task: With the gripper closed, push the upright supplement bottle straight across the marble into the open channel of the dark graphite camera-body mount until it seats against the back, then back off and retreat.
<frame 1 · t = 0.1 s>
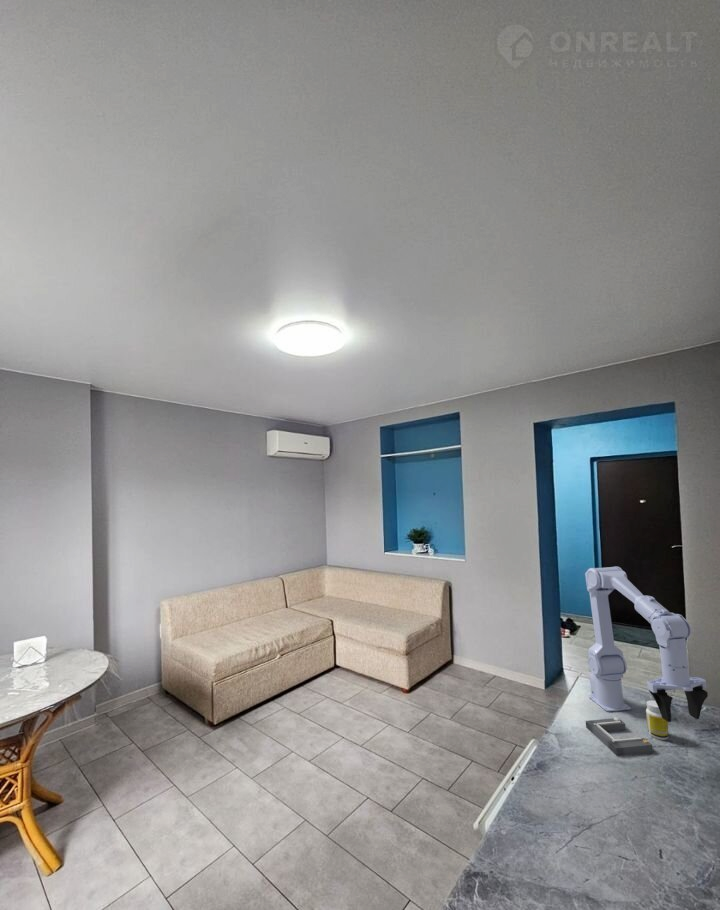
hand: (680, 718, 105), 10 cm above the countertop, fingers open, 7 cm apart
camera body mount: (621, 738, 114), on the countertop
supplement bottle: (658, 736, 115), on the countertop
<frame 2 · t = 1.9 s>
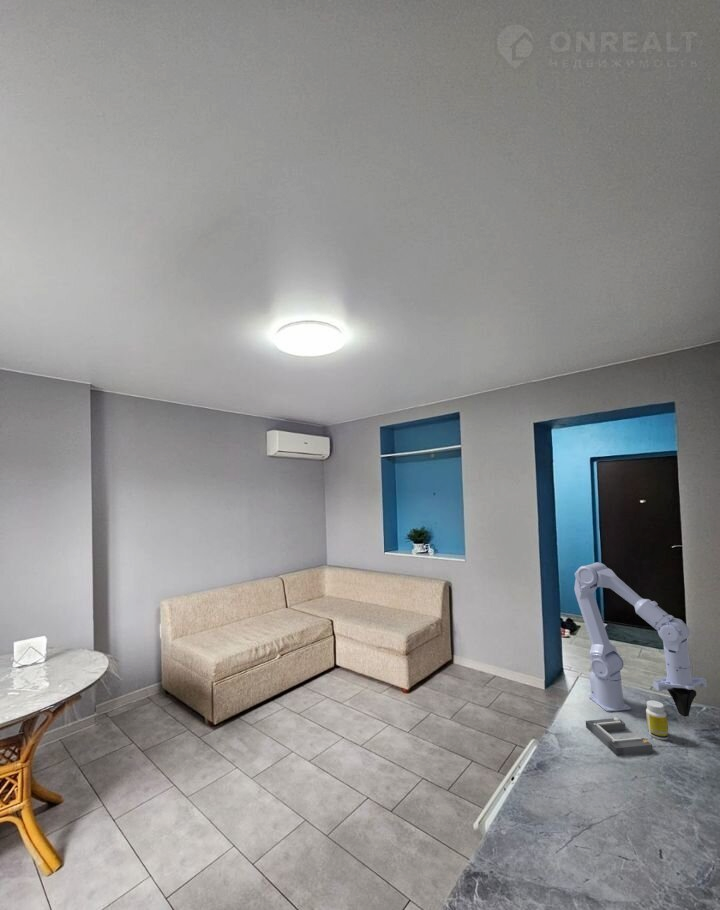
hand: (683, 714, 116), 5 cm above the countertop, fingers closed
nothing on the countertop moved.
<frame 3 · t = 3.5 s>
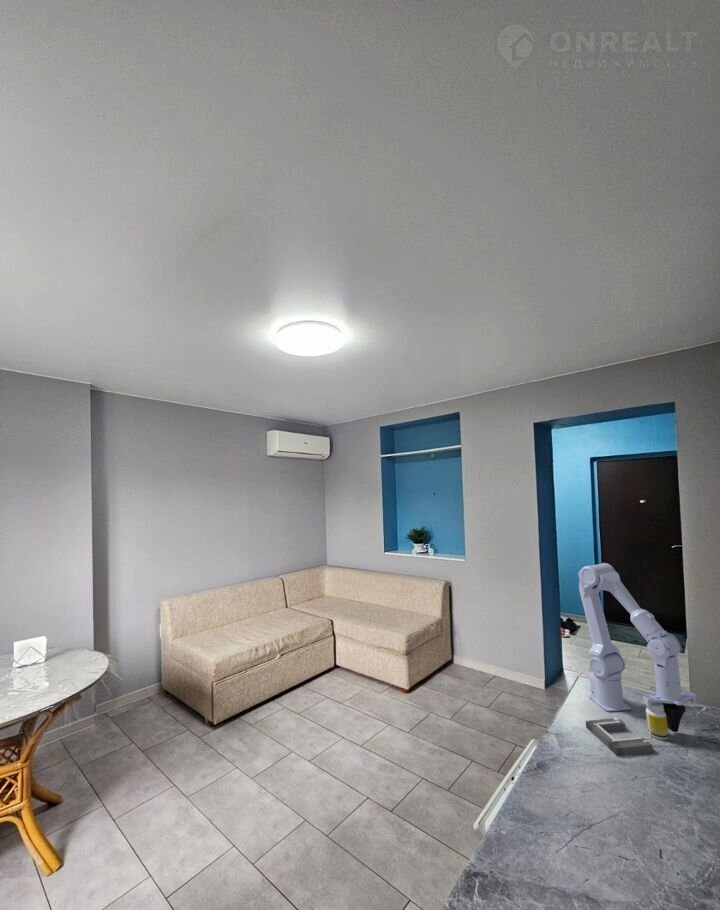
hand: (673, 729, 116), 1 cm above the countertop, fingers closed
supplement bottle: (658, 735, 115), on the countertop, touching gripper
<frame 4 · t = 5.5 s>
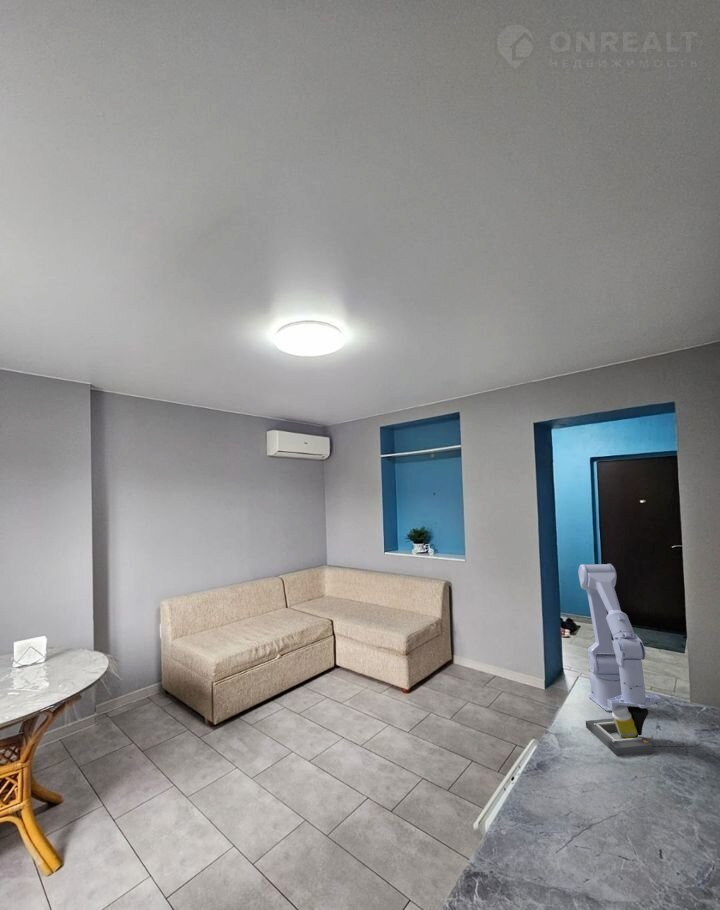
hand: (637, 733, 115), 1 cm above the countertop, fingers closed, pressing on supplement bottle
supplement bottle: (629, 736, 115), on the countertop, touching gripper
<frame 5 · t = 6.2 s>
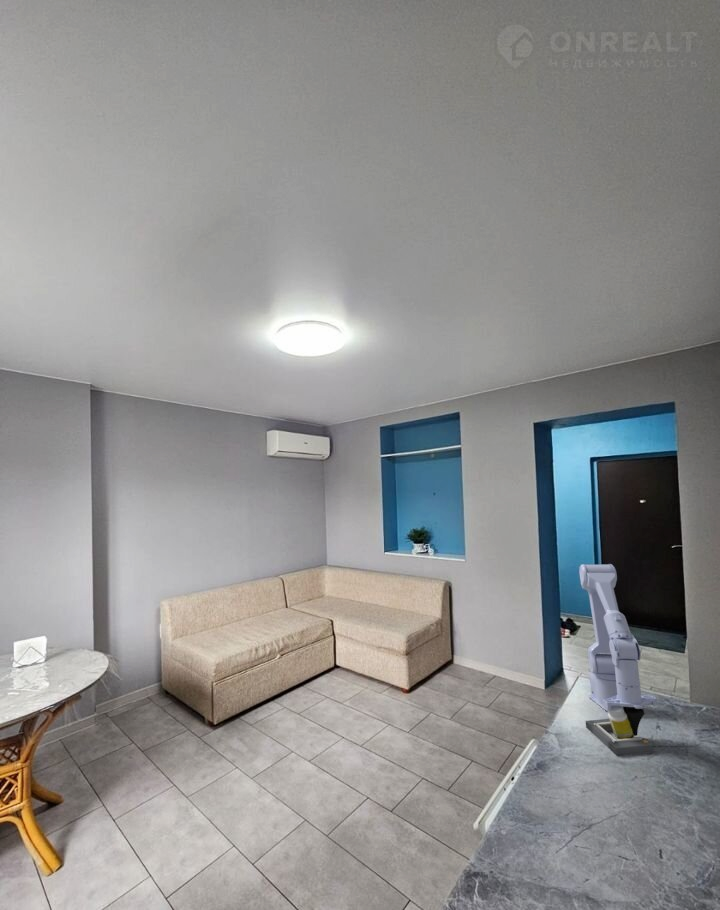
hand: (633, 733, 115), 1 cm above the countertop, fingers closed, pressing on supplement bottle
supplement bottle: (624, 736, 114), on the countertop, touching gripper
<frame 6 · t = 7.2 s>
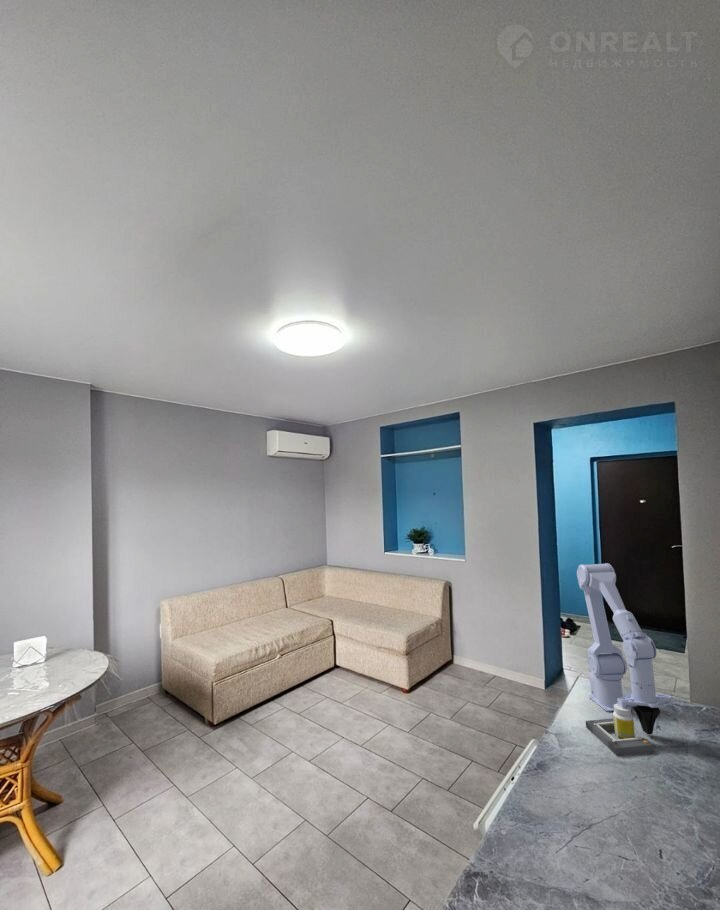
hand: (647, 732, 115), 1 cm above the countertop, fingers closed
supplement bottle: (625, 739, 114), on the countertop
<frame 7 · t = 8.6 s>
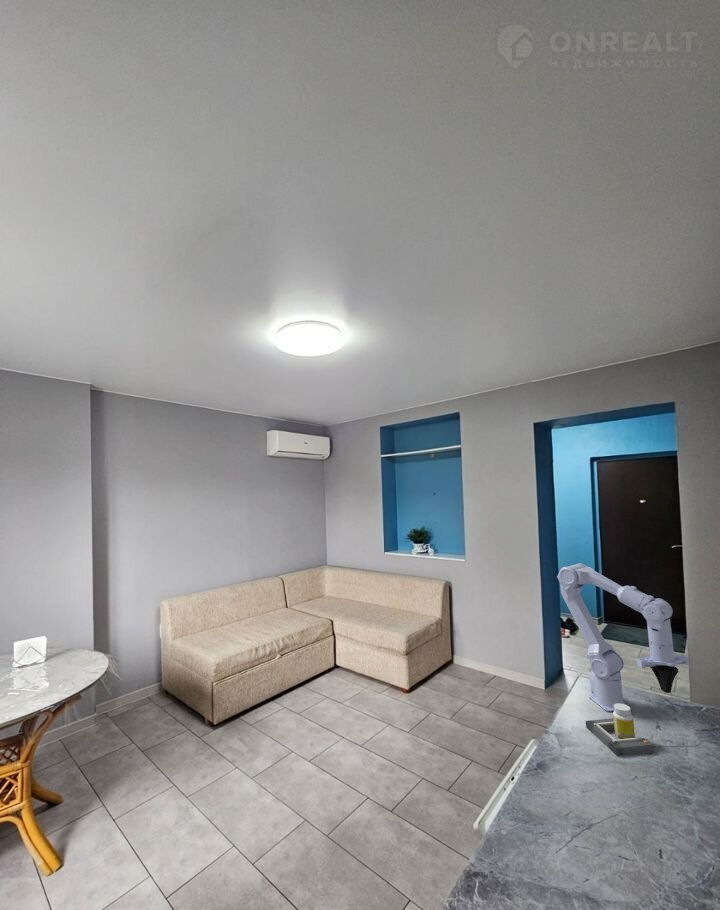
hand: (666, 691, 119), 10 cm above the countertop, fingers closed
nothing on the countertop moved.
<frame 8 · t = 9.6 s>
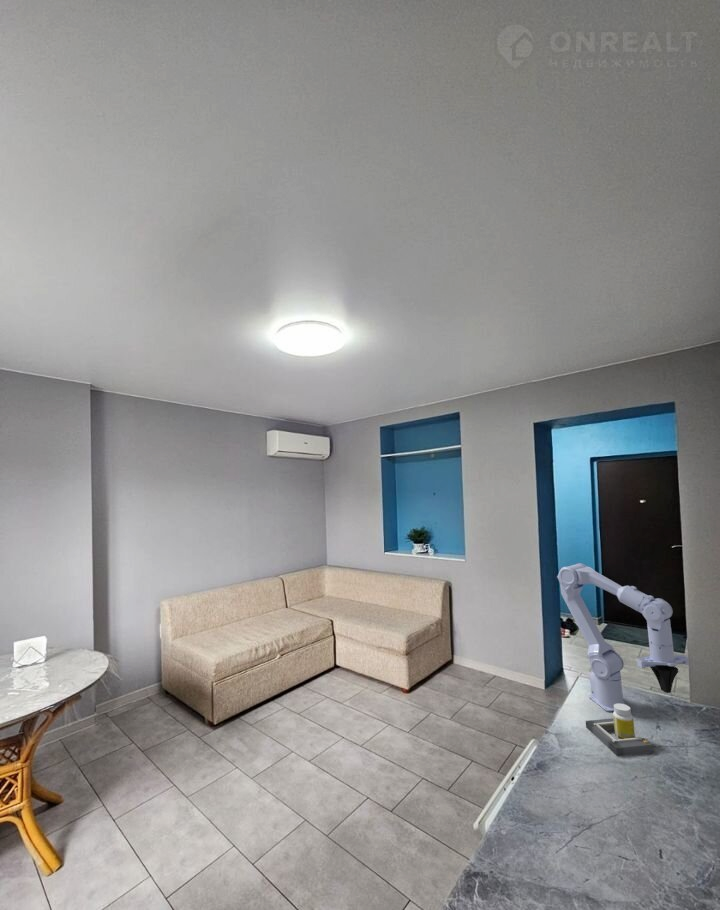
hand: (666, 691, 119), 10 cm above the countertop, fingers closed
nothing on the countertop moved.
at the end: supplement bottle 1.6 cm off-centre on the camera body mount, point 0.0 cm above the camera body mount's base; supplement bottle tilted 0°; the gripper is holding nothing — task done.
